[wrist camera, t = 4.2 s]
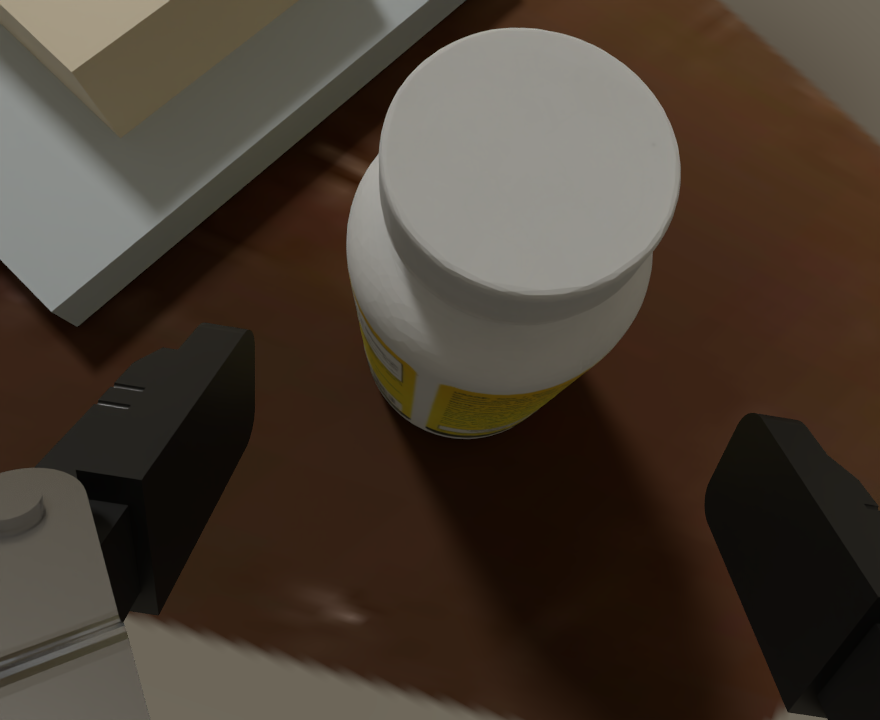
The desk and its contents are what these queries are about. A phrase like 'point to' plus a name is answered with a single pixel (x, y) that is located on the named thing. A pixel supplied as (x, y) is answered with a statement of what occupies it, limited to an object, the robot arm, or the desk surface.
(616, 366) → the desk surface
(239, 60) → the board
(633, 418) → the desk surface
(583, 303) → the pill bottle
